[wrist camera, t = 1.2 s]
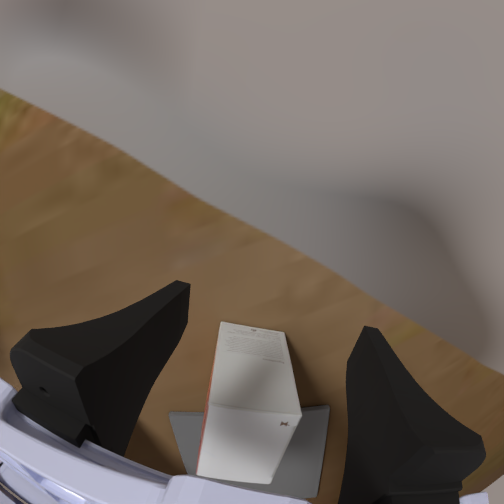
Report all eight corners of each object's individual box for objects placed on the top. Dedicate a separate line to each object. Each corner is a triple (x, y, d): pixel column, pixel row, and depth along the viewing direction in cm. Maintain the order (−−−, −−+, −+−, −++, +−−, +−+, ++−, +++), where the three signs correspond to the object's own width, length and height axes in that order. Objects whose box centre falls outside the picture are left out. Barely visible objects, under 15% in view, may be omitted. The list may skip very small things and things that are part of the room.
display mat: (198, 498, 34) (197, 501, 33) (169, 411, 29) (168, 415, 28) (316, 493, 34) (316, 496, 33) (328, 404, 29) (329, 408, 28)
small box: (220, 318, 26) (207, 401, 16) (286, 330, 27) (304, 414, 17) (207, 390, 28) (193, 477, 18) (264, 400, 29) (271, 486, 19)
